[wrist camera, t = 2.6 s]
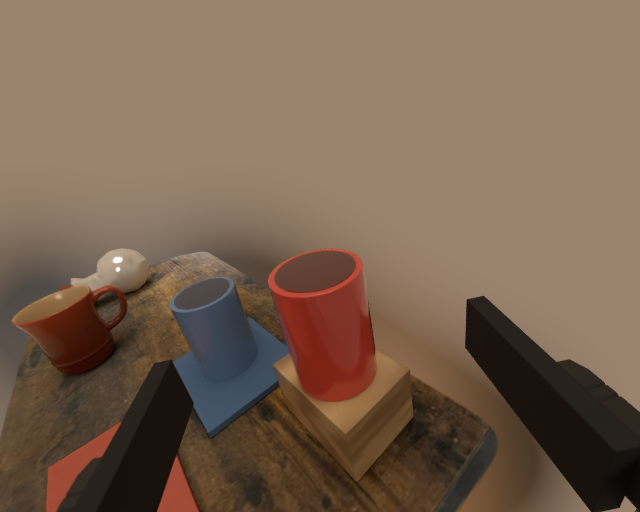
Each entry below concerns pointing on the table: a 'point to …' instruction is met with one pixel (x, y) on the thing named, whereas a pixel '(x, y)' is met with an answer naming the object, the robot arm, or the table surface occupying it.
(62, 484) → the red mat
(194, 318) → the blue cup
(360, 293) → the red cup
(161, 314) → the table surface
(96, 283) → the potion bottle
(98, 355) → the mug
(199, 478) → the table surface
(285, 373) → the wooden block
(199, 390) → the blue mat
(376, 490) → the table surface
